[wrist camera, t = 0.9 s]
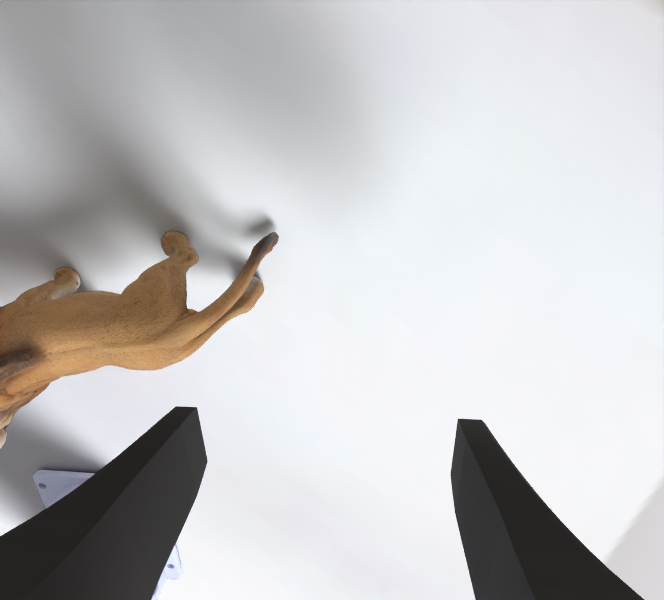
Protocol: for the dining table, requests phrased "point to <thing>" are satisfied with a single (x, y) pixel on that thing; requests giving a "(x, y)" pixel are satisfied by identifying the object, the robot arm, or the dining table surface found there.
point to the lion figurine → (113, 323)
